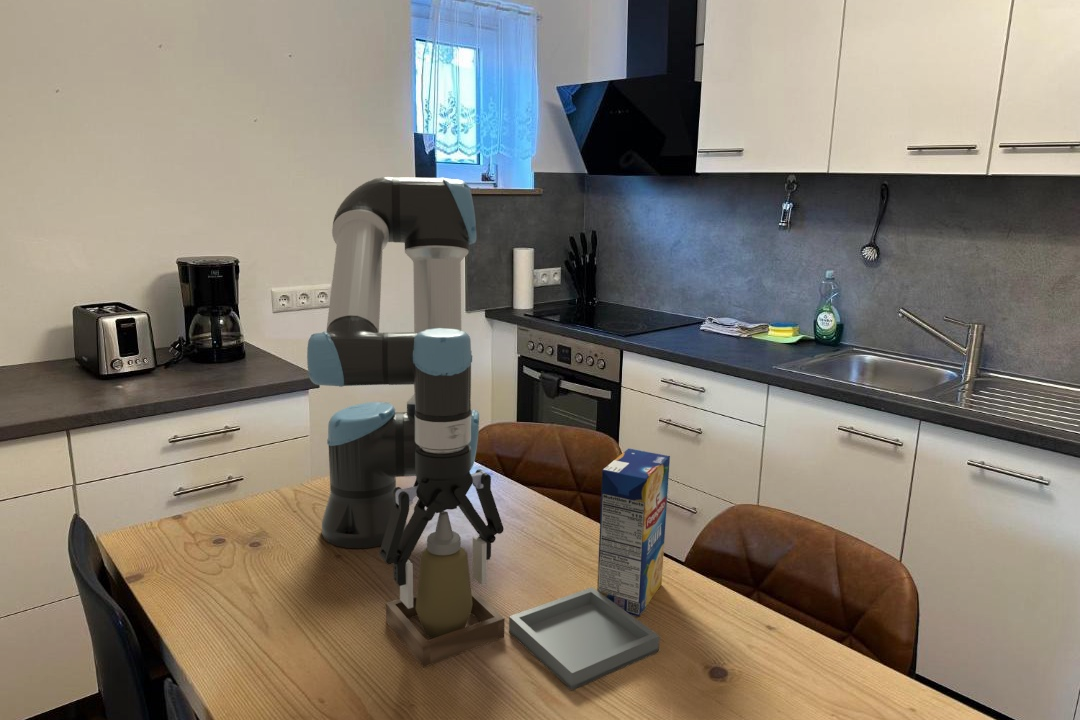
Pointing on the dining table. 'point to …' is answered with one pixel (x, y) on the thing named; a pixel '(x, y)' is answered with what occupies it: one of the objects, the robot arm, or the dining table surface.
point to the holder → (448, 643)
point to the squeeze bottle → (443, 582)
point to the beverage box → (633, 528)
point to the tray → (583, 637)
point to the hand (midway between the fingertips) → (444, 591)
